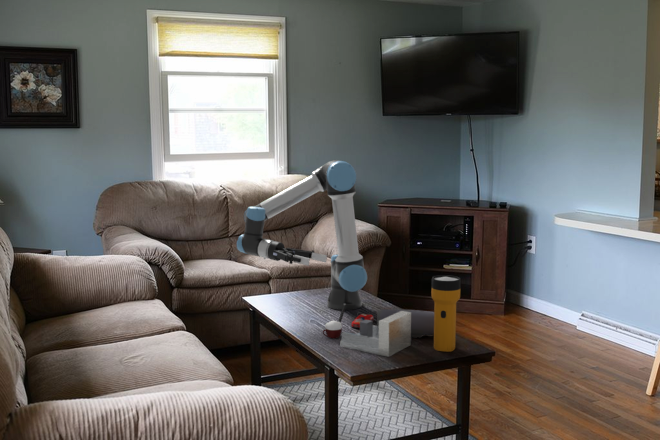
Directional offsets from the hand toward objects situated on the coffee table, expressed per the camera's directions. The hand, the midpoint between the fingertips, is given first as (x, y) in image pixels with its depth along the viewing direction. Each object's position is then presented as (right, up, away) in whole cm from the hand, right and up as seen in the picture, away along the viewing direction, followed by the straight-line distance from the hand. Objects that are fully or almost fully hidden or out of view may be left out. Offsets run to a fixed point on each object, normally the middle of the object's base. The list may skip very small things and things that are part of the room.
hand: (317, 260), depth 263 cm
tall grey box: (+18, -27, -15) cm, 36 cm away
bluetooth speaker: (+34, -28, -5) cm, 45 cm away
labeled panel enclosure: (+21, -30, -17) cm, 40 cm away
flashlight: (+45, -30, -20) cm, 58 cm away
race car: (+18, -27, +10) cm, 34 cm away
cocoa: (+6, -29, -6) cm, 30 cm away
